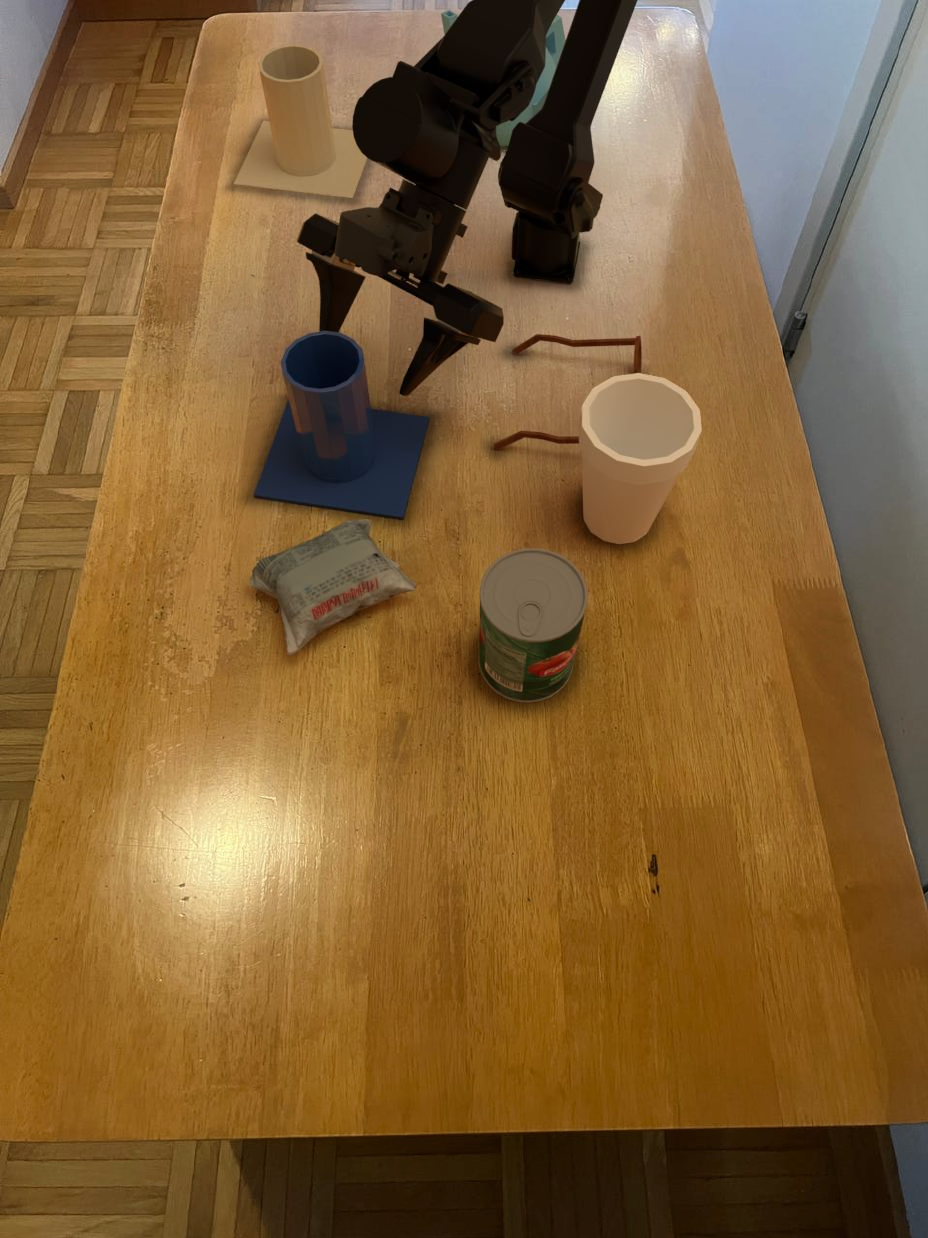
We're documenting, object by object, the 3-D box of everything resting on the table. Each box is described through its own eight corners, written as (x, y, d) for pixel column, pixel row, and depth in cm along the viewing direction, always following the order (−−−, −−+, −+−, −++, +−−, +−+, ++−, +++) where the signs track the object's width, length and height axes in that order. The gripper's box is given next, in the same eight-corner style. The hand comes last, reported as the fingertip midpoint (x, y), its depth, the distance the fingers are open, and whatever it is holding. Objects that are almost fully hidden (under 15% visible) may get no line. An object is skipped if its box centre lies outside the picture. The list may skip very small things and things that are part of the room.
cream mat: (376, 135, 111) (376, 132, 111) (352, 200, 105) (352, 197, 105) (263, 123, 112) (263, 120, 112) (234, 186, 107) (233, 183, 106)
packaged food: (417, 603, 80) (414, 572, 75) (292, 666, 77) (281, 637, 73) (371, 531, 83) (365, 498, 79) (249, 589, 81) (237, 557, 76)
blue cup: (370, 420, 89) (357, 325, 79) (381, 476, 86) (369, 384, 75) (299, 432, 88) (277, 337, 78) (308, 488, 85) (286, 397, 75)
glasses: (631, 467, 87) (640, 432, 82) (493, 450, 88) (494, 414, 83) (641, 364, 93) (650, 326, 89) (512, 349, 94) (514, 311, 90)
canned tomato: (485, 612, 79) (488, 540, 70) (578, 625, 79) (593, 554, 69) (471, 696, 75) (471, 632, 66) (567, 710, 75) (582, 648, 65)
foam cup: (678, 486, 86) (710, 387, 74) (661, 568, 81) (692, 476, 70) (577, 464, 87) (593, 363, 76) (555, 544, 83) (569, 450, 71)
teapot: (567, 158, 109) (576, 66, 99) (438, 157, 109) (436, 65, 100) (563, 81, 116) (571, -12, 107) (442, 80, 116) (440, -13, 107)
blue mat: (429, 419, 90) (429, 416, 89) (403, 519, 84) (403, 517, 84) (289, 399, 91) (288, 396, 91) (254, 497, 85) (253, 494, 85)
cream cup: (341, 142, 110) (329, 47, 100) (327, 179, 107) (313, 84, 97) (286, 136, 110) (268, 41, 101) (270, 172, 107) (250, 77, 98)
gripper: (292, 122, 72) (225, 313, 78) (485, 218, 67) (399, 416, 72) (367, 162, 82) (303, 329, 88) (541, 248, 76) (461, 421, 82)
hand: (362, 371), depth 82 cm, fingers open, 9 cm apart
